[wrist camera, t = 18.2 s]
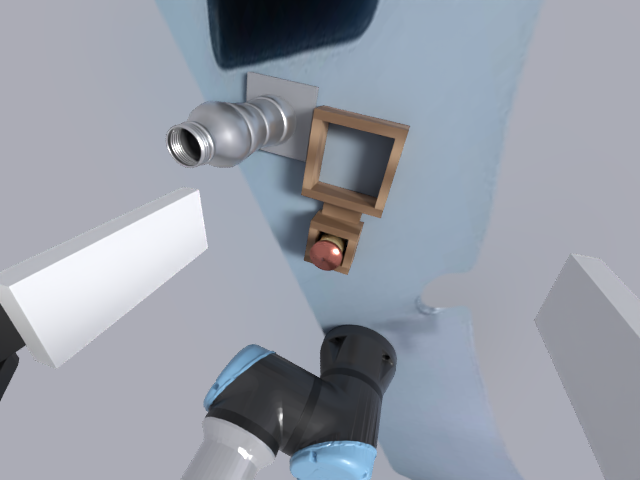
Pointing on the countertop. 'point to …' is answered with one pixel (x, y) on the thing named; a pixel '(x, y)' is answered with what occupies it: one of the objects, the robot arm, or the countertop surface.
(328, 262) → the copper-capped cylinder
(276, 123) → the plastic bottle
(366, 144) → the countertop surface
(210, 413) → the robot arm
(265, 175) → the countertop surface
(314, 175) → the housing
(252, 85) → the pad
